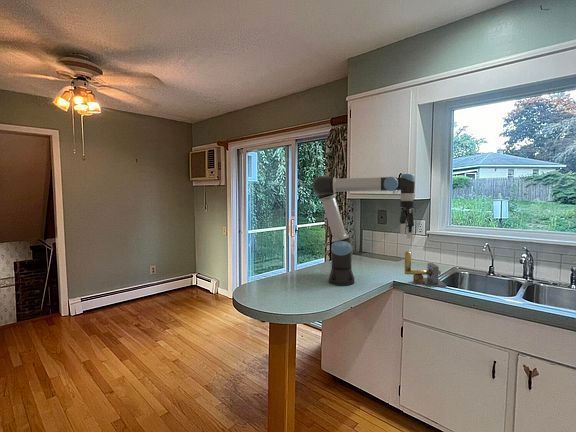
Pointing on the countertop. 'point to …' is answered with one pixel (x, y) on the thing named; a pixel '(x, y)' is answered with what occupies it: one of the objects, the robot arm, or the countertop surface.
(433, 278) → the grey upright block
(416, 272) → the hook rod
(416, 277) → the rest block
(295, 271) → the countertop surface
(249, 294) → the countertop surface
